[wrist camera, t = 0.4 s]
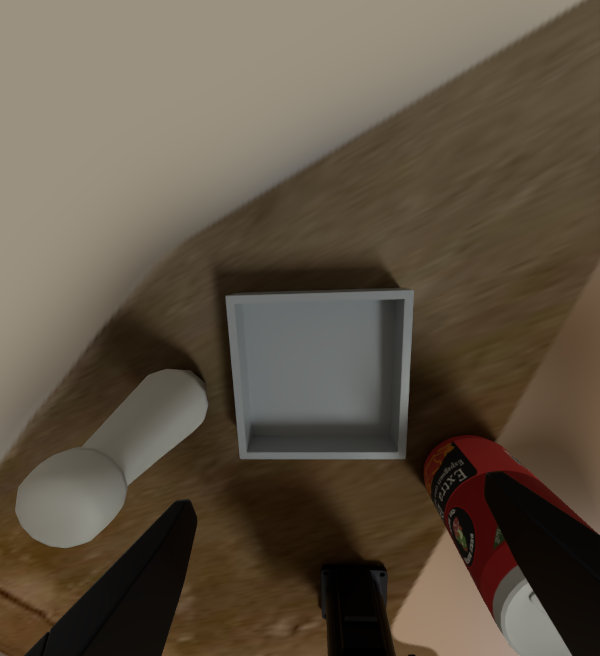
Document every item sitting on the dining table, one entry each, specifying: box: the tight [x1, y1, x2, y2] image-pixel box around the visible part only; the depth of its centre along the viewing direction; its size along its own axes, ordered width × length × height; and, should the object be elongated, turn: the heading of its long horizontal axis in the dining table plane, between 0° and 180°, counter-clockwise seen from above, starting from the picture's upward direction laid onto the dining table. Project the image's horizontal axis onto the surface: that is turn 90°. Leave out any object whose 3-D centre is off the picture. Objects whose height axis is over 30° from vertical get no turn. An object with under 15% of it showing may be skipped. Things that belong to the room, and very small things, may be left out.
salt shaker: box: [15, 369, 208, 548], centre depth 18 cm, size 6×6×13 cm
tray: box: [226, 288, 414, 459], centre depth 22 cm, size 13×13×3 cm
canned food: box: [424, 435, 598, 656], centre depth 20 cm, size 8×8×11 cm
